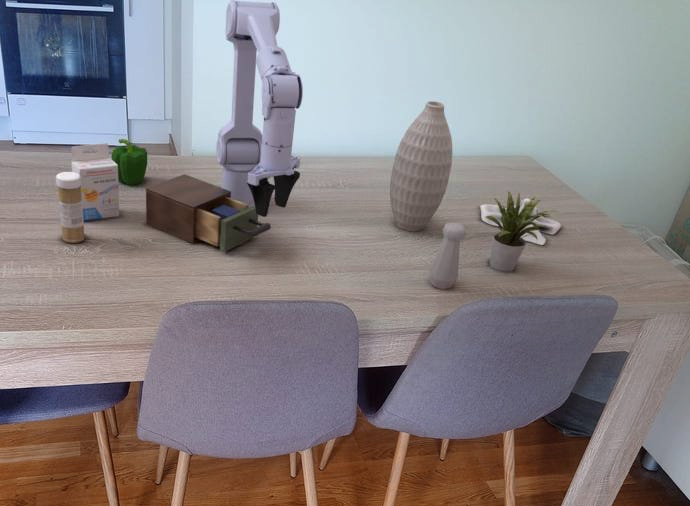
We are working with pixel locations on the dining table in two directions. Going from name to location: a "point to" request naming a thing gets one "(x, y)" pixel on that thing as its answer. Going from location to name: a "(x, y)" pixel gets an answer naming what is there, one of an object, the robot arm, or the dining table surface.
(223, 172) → the robot arm
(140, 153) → the bell pepper
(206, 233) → the drawer
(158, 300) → the dining table surface
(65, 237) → the sprinkles bottle
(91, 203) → the ink box
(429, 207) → the vase
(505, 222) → the house plant
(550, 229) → the cloth
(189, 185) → the cabinet
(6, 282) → the dining table surface
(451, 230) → the salt shaker
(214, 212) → the box
